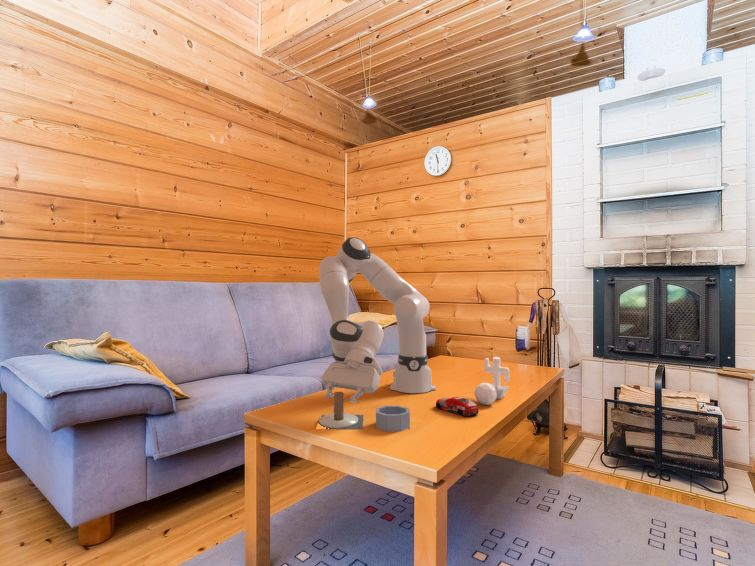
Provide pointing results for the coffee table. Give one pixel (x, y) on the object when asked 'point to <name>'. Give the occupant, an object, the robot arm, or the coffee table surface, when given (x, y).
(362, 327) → the robot arm
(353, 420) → the lid
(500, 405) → the coffee table surface
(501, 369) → the figurine
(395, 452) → the coffee table surface
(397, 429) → the bowl
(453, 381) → the coffee table surface
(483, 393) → the geometric ball
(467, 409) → the race car
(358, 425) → the mat
